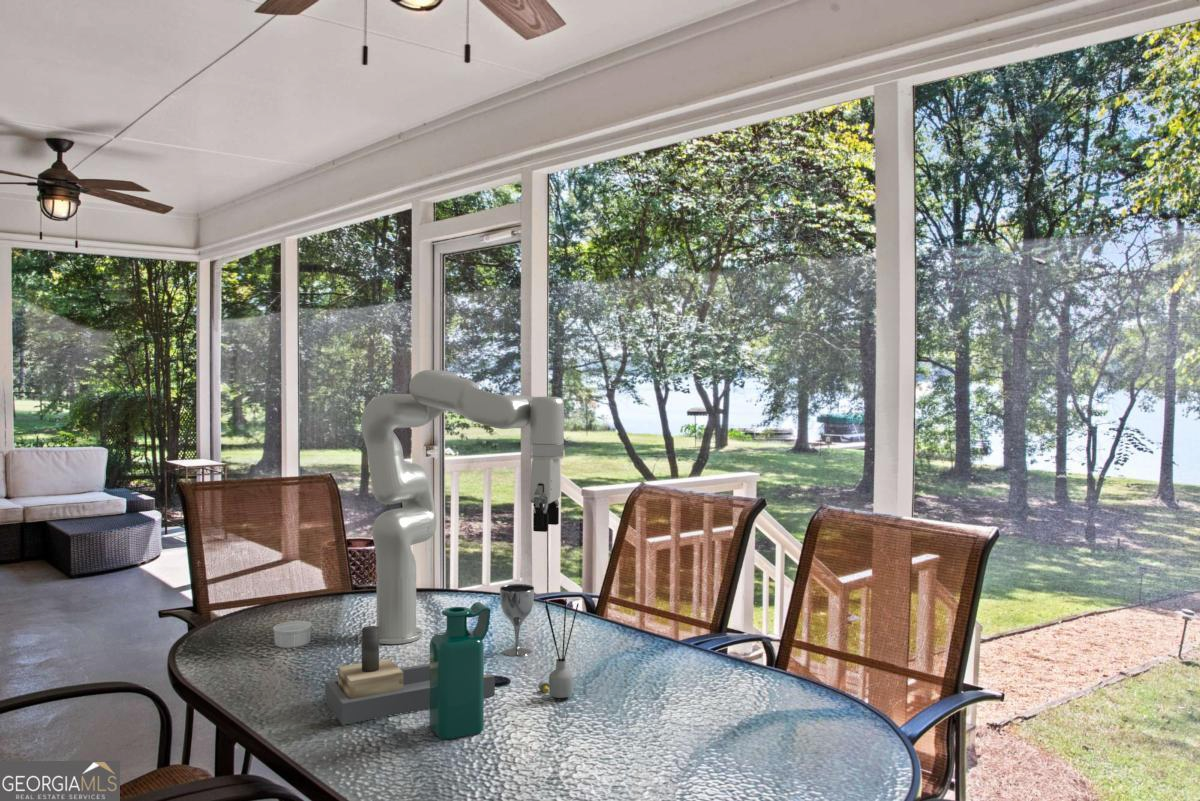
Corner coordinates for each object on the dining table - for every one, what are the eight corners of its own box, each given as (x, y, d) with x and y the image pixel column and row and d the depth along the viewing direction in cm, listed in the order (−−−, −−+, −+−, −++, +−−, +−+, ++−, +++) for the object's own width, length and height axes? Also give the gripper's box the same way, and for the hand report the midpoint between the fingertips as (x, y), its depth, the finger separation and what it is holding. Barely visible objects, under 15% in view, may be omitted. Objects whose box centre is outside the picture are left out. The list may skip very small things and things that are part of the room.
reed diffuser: (586, 698, 169) (586, 598, 169) (565, 709, 164) (565, 605, 163) (546, 687, 175) (546, 591, 175) (524, 697, 170) (524, 597, 169)
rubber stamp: (338, 697, 166) (338, 625, 166) (388, 688, 172) (388, 618, 171) (350, 713, 158) (350, 638, 158) (403, 703, 163) (403, 630, 163)
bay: (325, 701, 167) (325, 679, 167) (468, 675, 183) (468, 656, 182) (342, 725, 155) (342, 702, 155) (494, 696, 170) (494, 675, 170)
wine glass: (536, 647, 203) (536, 584, 203) (530, 657, 195) (530, 592, 195) (503, 646, 204) (503, 583, 203) (496, 656, 196) (496, 591, 196)
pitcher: (440, 742, 148) (440, 616, 148) (426, 725, 156) (427, 605, 155) (493, 732, 153) (494, 609, 152) (478, 716, 160) (478, 599, 160)
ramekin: (304, 649, 201) (304, 630, 201) (266, 648, 201) (266, 630, 201) (317, 638, 210) (317, 620, 210) (281, 637, 210) (281, 620, 210)
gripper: (540, 448, 200) (540, 521, 200) (519, 454, 183) (519, 533, 183) (571, 449, 199) (571, 522, 199) (553, 454, 182) (553, 535, 182)
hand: (546, 527), depth 191 cm, fingers open, 9 cm apart
